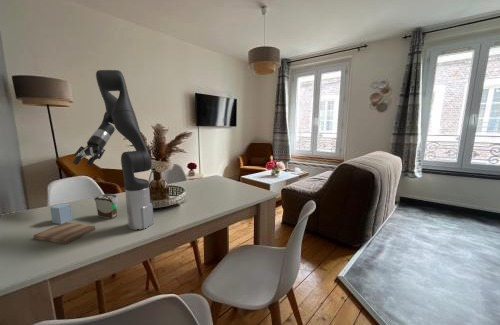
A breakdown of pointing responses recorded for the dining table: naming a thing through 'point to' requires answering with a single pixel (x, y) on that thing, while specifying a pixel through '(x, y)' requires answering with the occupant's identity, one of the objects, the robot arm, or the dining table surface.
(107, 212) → the food container
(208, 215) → the dining table surface
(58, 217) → the slate block
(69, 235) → the walnut board
